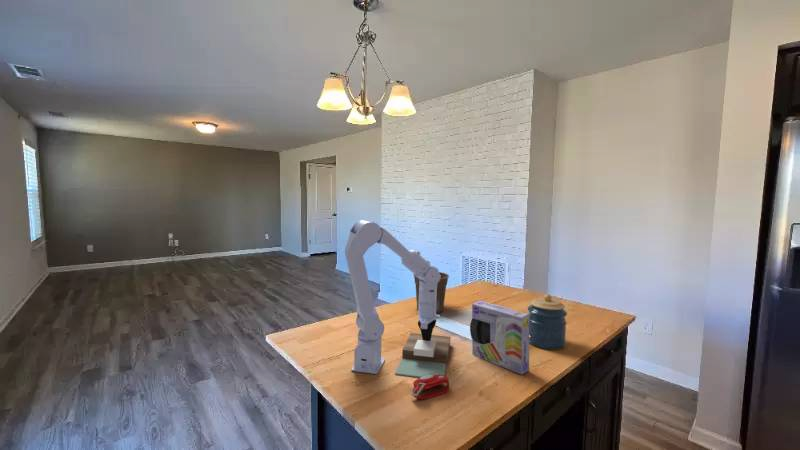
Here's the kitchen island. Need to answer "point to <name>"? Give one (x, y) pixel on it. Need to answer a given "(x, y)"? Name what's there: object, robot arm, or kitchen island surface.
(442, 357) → the board
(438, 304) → the plant pot
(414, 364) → the mat
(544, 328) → the canister
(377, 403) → the kitchen island surface
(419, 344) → the tile
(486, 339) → the cake pan box
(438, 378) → the tracker holder
